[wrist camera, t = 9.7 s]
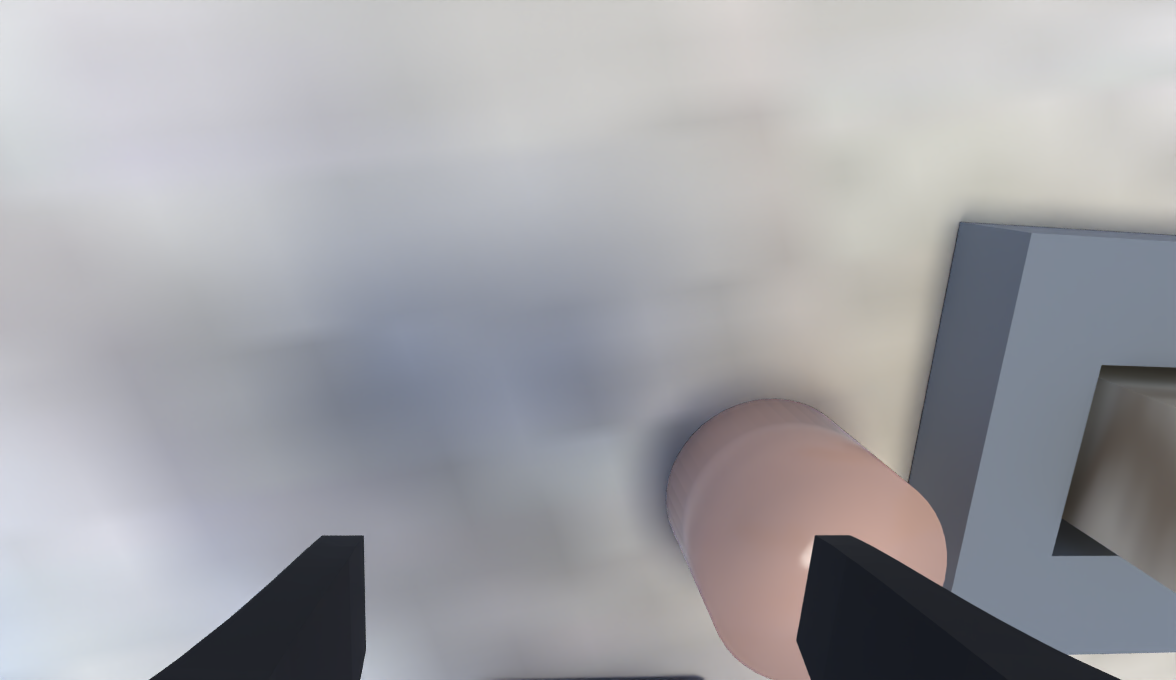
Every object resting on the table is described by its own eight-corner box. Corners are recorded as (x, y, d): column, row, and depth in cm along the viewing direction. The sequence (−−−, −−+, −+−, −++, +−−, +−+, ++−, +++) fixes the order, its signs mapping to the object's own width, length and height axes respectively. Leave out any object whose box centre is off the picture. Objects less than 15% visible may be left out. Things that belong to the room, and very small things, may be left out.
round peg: (839, 576, 24) (922, 681, 19) (657, 578, 23) (696, 687, 19) (870, 400, 23) (969, 467, 18) (675, 395, 22) (723, 465, 17)
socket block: (1190, 594, 26) (1275, 649, 23) (885, 598, 25) (936, 657, 22) (1303, 243, 23) (1418, 256, 20) (960, 222, 21) (1031, 232, 18)
